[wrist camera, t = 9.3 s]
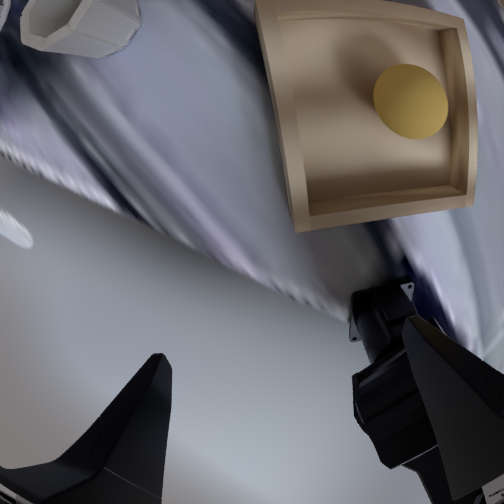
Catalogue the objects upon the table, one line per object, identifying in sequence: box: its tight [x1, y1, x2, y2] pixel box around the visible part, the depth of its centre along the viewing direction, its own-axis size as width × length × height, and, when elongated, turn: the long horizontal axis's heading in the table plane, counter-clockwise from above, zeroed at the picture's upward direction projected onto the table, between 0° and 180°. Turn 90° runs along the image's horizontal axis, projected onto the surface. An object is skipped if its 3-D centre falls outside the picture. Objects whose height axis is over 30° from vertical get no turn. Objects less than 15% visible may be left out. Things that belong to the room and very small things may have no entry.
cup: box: [20, 0, 142, 59], centre depth 10 cm, size 5×5×7 cm
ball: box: [373, 64, 448, 139], centre depth 14 cm, size 5×5×5 cm
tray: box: [254, 0, 478, 233], centre depth 16 cm, size 15×15×3 cm
